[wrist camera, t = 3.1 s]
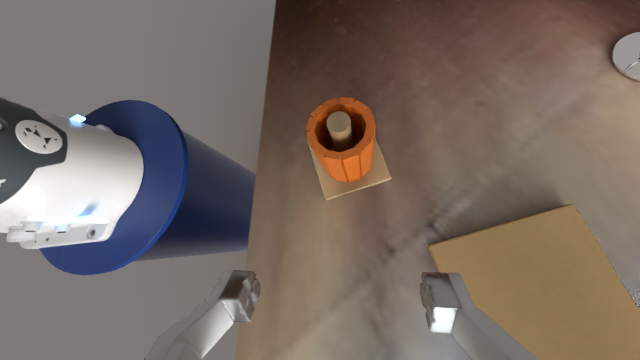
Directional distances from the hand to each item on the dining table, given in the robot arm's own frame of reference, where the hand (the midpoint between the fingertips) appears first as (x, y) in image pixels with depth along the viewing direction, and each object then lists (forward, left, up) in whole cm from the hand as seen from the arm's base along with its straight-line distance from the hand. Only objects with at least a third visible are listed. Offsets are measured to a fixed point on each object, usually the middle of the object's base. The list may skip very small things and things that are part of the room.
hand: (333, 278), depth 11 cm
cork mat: (+15, -8, -15) cm, 23 cm away
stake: (+3, +11, -15) cm, 19 cm away
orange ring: (+3, +11, -14) cm, 18 cm away
